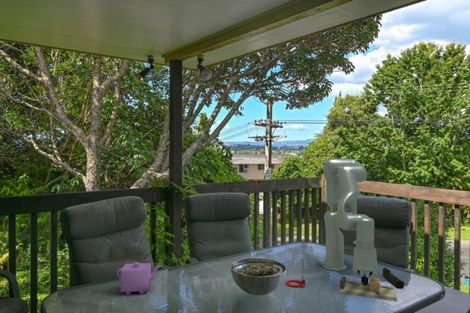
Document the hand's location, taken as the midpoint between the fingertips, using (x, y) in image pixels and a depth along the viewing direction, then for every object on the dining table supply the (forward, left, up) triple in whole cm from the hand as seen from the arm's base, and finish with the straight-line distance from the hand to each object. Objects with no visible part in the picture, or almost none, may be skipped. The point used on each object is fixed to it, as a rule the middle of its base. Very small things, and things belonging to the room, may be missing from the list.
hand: (364, 285), depth 162 cm
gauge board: (+1, 0, -3) cm, 3 cm away
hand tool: (+11, +19, -3) cm, 22 cm away
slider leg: (+4, 0, -1) cm, 4 cm away
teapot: (-94, -40, -3) cm, 102 cm away
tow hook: (-31, -4, -3) cm, 31 cm away
